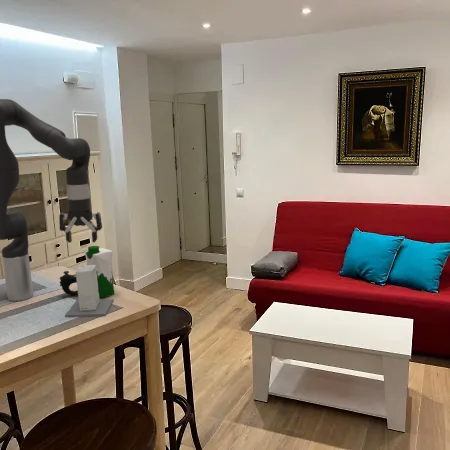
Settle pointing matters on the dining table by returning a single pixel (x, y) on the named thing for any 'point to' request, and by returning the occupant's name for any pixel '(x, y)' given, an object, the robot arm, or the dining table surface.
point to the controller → (68, 283)
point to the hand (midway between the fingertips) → (82, 241)
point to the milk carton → (102, 269)
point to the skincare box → (87, 288)
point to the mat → (100, 311)
